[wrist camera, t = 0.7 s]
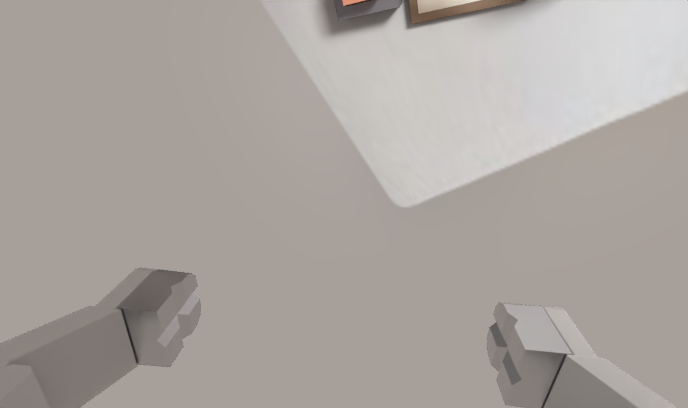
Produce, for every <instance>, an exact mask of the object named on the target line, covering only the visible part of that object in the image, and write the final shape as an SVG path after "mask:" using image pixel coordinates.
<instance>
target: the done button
mask: <svg viewBox="0 0 688 408" xmlns="http://www.w3.org/2000/svg"><path fill="white" fill-rule="evenodd" d="M342 1H343V6H345V5H349V4H353V3H357V2H361V1H365V0H342Z"/></svg>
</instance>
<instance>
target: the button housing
mask: <svg viewBox="0 0 688 408" xmlns="http://www.w3.org/2000/svg"><path fill="white" fill-rule="evenodd" d="M334 2H335V7H336V11H337V16H338V20H339V21H340V20H345V19H349V18H353V17H358V16H362V15H367V14H371V13H375V12H380V11H384V10H388V9H393V8H397V7H400V5H401V4H402V0H365V1H361V2H357V3H353V4H349V5H345V6H343V1H342V0H334Z"/></svg>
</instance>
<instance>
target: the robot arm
mask: <svg viewBox="0 0 688 408" xmlns="http://www.w3.org/2000/svg"><path fill="white" fill-rule="evenodd" d="M196 287H197V282H196V276H195V275H193V274H192V273H184V272H176V271H168V270H159V269H158V270H155V269H148V268H138V269H135V270H134V271H133V272H131V273H130V274H129V275H128V276H127V277H126V278H125V279H124V280H123V281H122V282H121V283H120V284H119V285H117V286H116V287H115V288H114V289H113V290H112V291H111V292H110V293H109V294H108V295H107V296H106V297H104V298H103V299H102V300H101V301H100V302H99V303H98V304H97V305H96V306H88V307H85V308H83V309H80V310H78V311H76V312H73V313H71V314H69V315H66V316H64V317H62V318H59V319H57V320H54V321H52V322H50V323H48V324H45V325H43V326H40V327H38V328H36V329H33V330H31V331H28V332H26V333H24V334H21V335H19V336H17V337H15V338H12V339H10V340H7V341H5V342H3V343H0V408H80V407H81V406H83V405H84V404H86V403H87V402H88V401H90V400H91V399H93V398H94V397H95V396H97V395H98V394H100V393H101V392H102V391H104V390H105V389H107V388H108V387H109V386H111V385H112V384H113V383H115V382H116V381H117V380H119V379H120V378H122V377H123V376H125V375H126V374H127V373H129V372H130V371H131V370H133V369H134V368H136V367H137V365H150V366H162V367H170V366H171V365H172V363H173V362H174V360H175V359H176V357H177V356H178V354H179V352H180V351H181V349H182V348H183V341H182V339H183V338H185V337H186V336H188V335H190V334H191V333H192V332H193V331H194V329H195V327H196V326H197V323H198V320H199V317H200V312H201V304H200V298H199V297H198V296H197V295H196V294H195V293H194V292H193V291H194V290H195V289H196ZM494 317H495V319H496V323H495V324H493V325H492V326H491V327H490V328H489V332H488V337H487V350H488V356H489V360H490V363H491V365H492V366H493V367H494V368H495V369H496V370H497V371H499V374H498V377H497V383H498V385H499V388H500V392H501V394H502V397H503V400H504V403H505V405H510V406H517V407H524V408H677V407H676V406H674V405H672V404H671V403H670V402H668V401H666V400H665V399H664V398H662V397H661V396H659V395H658V394H656V393H655V392H653V391H652V390H650V389H649V388H647V387H646V386H645V385H643V384H642V383H640V382H639V381H637V380H636V379H634V378H633V377H631V376H630V375H628V374H627V373H625V372H624V371H622V370H621V369H619V368H618V367H616V366H615V365H613V364H612V363H610V362H609V361H608V360H606V359H604V358H598V357H597V356H596V354H595V353H594V352H593V350H592V349H591V347H590V346H589V344H588V343H587V342H586V340H585V339H584V337H583V336H582V334H581V333H580V332H579V330H578V329H577V327H576V326H575V324H574V323H573V321H572V320H571V319H570V317H569V316H568V314H567V313H566V311H565V310H564V309H562V308H561V307H555V306H541V305H539V306H534V305H523V304H511V303H500V302H499V303H498V304H497V306H496V308H495V311H494Z"/></svg>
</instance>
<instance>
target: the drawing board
mask: <svg viewBox="0 0 688 408" xmlns="http://www.w3.org/2000/svg"><path fill="white" fill-rule="evenodd" d="M519 1H524V0H409V4H410V13H411V22H412V24H413V23H418V22H423V21H428V20H432V19H437V18H442V17H447V16H452V15H457V14H461V13H466V12H471V11H476V10H481V9H485V8H490V7H495V6H500V5H505V4H509V3H514V2H519Z"/></svg>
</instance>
